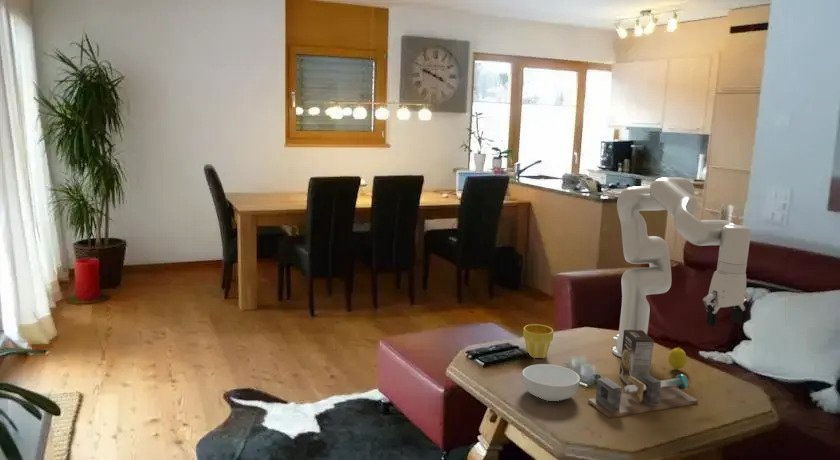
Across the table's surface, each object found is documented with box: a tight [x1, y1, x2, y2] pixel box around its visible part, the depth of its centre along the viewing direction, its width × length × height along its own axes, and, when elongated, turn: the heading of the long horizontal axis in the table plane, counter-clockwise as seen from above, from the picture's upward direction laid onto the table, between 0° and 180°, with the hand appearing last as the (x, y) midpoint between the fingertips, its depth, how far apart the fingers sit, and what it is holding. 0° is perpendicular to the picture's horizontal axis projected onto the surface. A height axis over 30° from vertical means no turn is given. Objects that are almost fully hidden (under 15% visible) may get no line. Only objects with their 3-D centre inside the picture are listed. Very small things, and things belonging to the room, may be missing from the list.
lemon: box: [668, 346, 687, 371], centre depth 217 cm, size 6×6×8 cm
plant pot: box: [522, 323, 554, 359], centre depth 224 cm, size 10×10×10 cm
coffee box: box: [618, 330, 655, 386], centre depth 205 cm, size 9×6×16 cm
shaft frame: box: [587, 372, 699, 419], centre depth 191 cm, size 32×10×8 cm, turn 111°
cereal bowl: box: [521, 363, 581, 402], centre depth 193 cm, size 17×17×7 cm
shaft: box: [623, 373, 690, 394], centre depth 192 cm, size 21×4×4 cm, turn 111°
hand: (723, 324), depth 189 cm, fingers open, 9 cm apart
